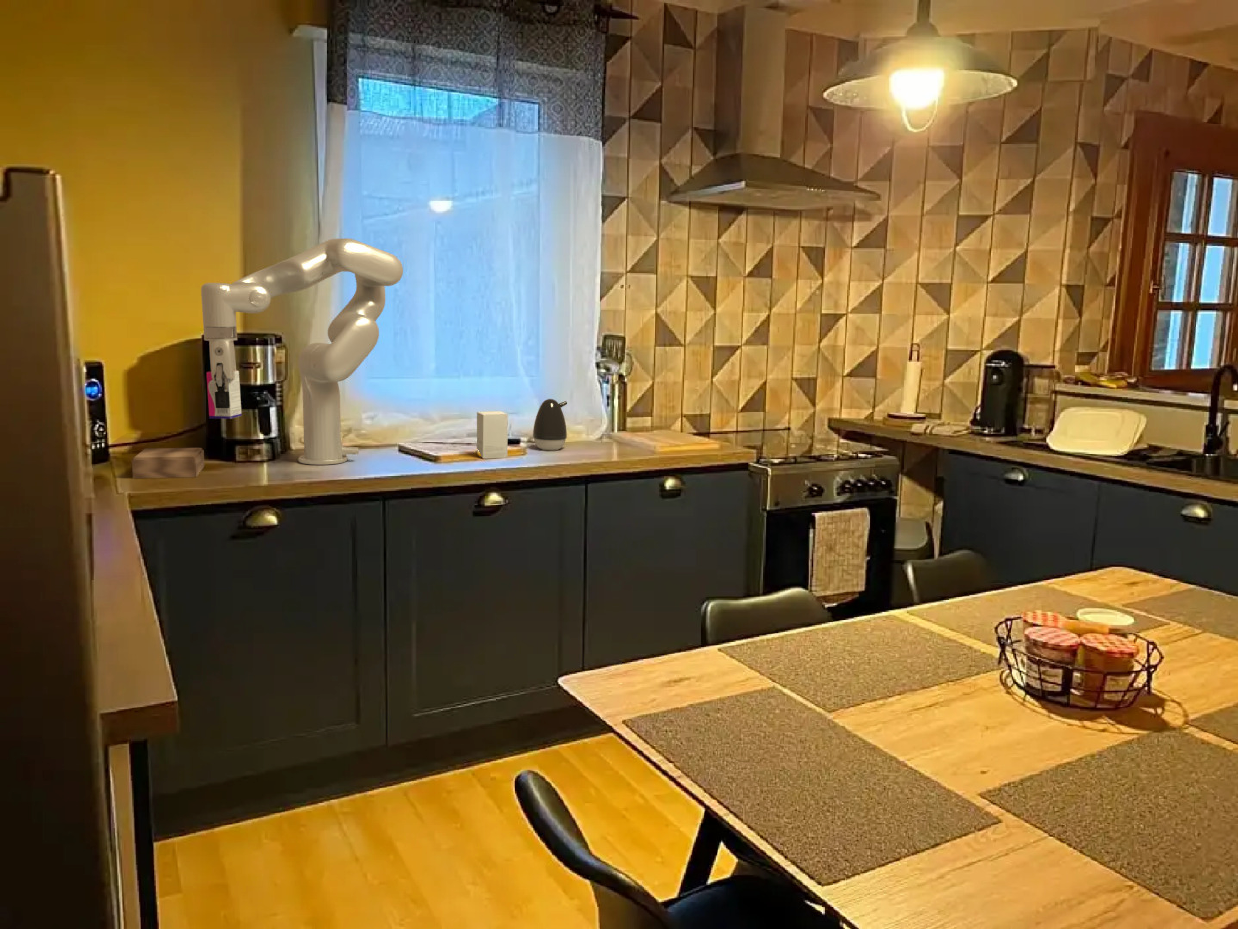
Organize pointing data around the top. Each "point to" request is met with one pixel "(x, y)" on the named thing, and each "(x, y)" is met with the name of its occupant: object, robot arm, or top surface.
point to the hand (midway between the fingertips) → (224, 405)
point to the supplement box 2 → (492, 434)
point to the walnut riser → (168, 463)
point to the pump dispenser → (550, 426)
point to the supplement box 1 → (233, 397)
